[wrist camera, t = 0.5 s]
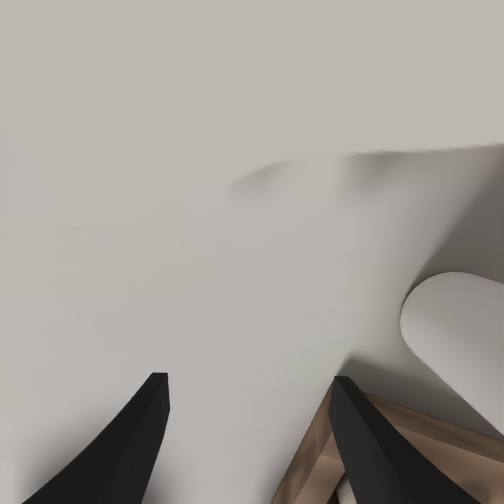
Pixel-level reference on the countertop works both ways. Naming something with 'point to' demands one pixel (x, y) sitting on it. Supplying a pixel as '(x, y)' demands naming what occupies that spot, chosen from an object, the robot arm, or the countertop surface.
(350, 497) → the outer knob
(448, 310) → the pill bottle
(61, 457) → the countertop surface
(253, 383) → the countertop surface
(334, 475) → the knob board
